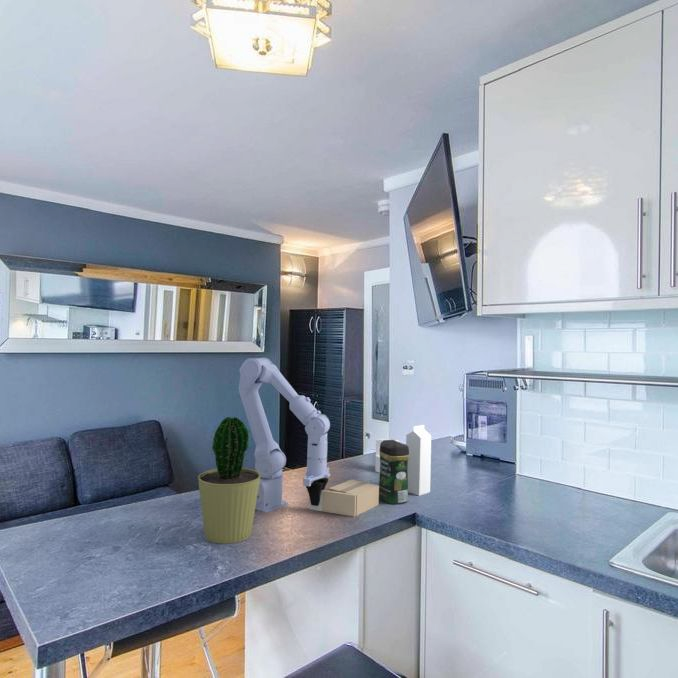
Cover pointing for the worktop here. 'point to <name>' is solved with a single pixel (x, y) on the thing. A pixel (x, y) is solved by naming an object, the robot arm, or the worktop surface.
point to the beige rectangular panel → (336, 503)
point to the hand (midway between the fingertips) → (315, 504)
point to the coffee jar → (393, 472)
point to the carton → (360, 494)
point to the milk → (419, 460)
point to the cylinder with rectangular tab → (377, 462)
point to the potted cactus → (229, 486)
